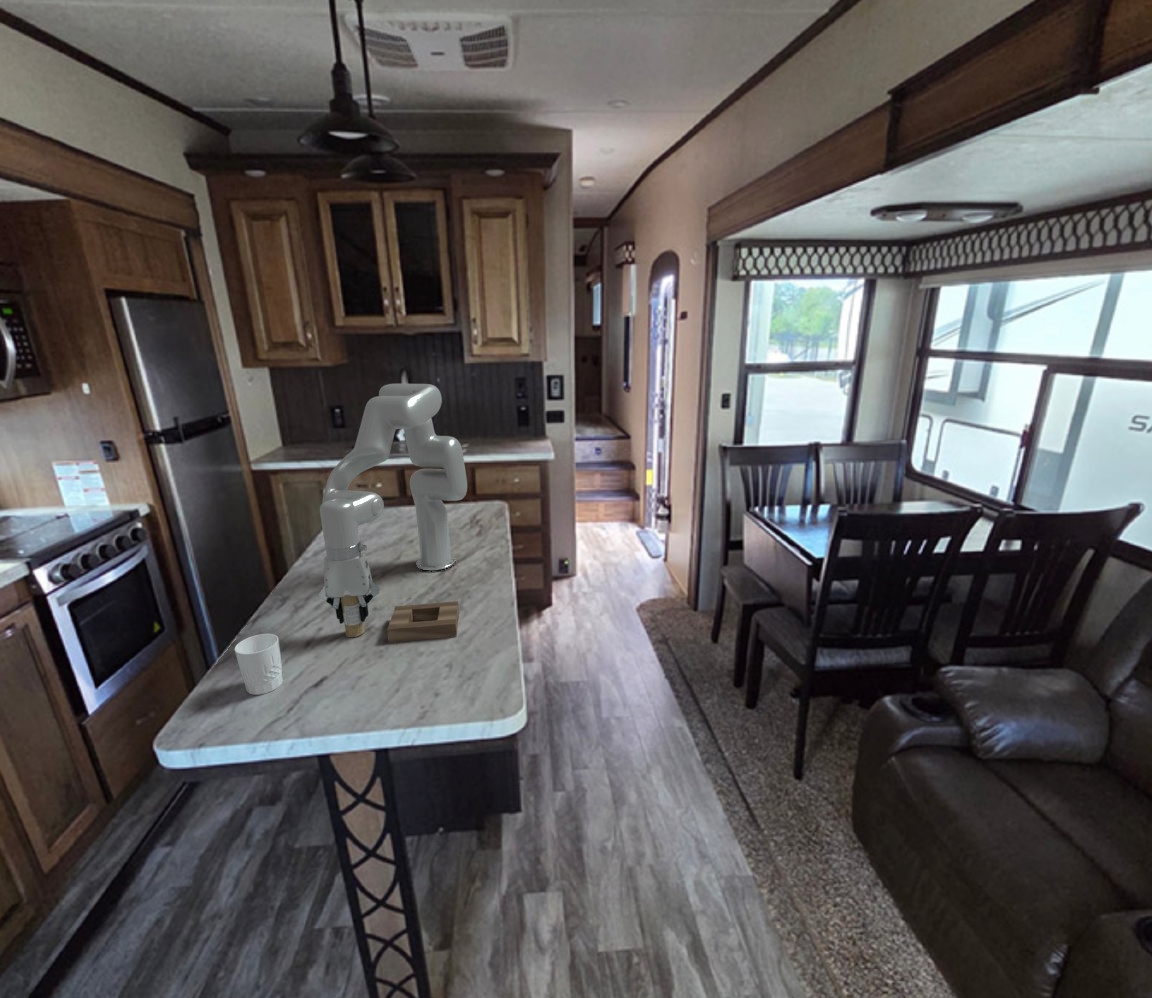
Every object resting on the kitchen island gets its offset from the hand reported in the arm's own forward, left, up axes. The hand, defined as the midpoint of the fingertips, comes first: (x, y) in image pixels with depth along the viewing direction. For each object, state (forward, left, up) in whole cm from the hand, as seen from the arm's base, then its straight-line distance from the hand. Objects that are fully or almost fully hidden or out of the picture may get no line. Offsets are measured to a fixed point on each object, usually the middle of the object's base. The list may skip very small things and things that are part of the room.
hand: (353, 619), depth 133 cm
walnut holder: (0, +17, -4) cm, 17 cm away
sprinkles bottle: (0, 0, -4) cm, 4 cm away
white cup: (+19, -14, -4) cm, 24 cm away
